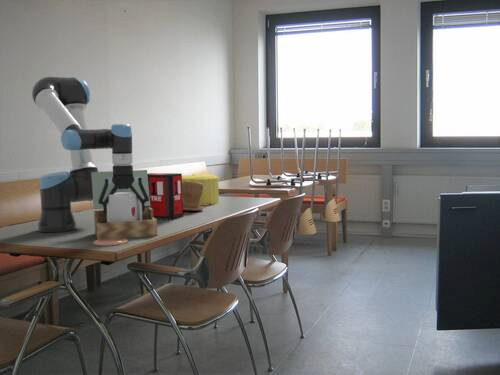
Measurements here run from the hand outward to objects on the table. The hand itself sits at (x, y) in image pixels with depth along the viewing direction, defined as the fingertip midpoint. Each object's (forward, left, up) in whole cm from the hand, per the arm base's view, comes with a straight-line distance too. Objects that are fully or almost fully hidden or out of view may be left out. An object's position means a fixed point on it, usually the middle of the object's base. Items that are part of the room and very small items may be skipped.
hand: (124, 220), depth 226 cm
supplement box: (0, 0, -5) cm, 5 cm away
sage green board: (0, +10, +12) cm, 15 cm away
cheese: (+47, +84, -6) cm, 96 cm away
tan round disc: (-7, -15, -5) cm, 17 cm away
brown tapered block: (+37, +54, -6) cm, 65 cm away
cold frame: (0, 0, -5) cm, 5 cm away
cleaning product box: (+21, +38, -6) cm, 43 cm away
